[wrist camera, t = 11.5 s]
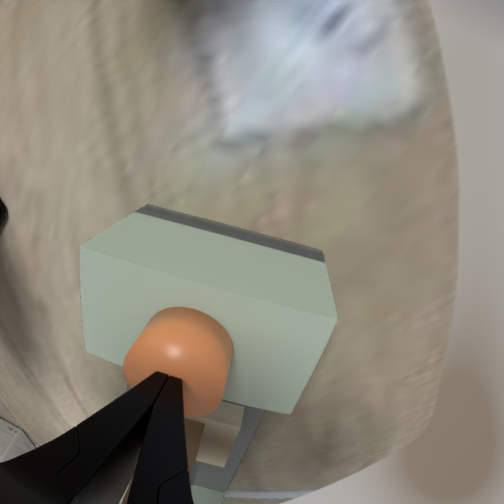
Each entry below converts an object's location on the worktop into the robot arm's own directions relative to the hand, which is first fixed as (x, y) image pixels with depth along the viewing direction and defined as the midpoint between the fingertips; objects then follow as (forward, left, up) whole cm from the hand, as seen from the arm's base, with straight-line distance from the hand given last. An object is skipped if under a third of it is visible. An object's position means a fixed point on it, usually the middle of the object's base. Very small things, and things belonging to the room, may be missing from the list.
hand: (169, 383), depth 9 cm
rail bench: (-10, -7, -8) cm, 15 cm away
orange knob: (0, 0, -4) cm, 4 cm away
